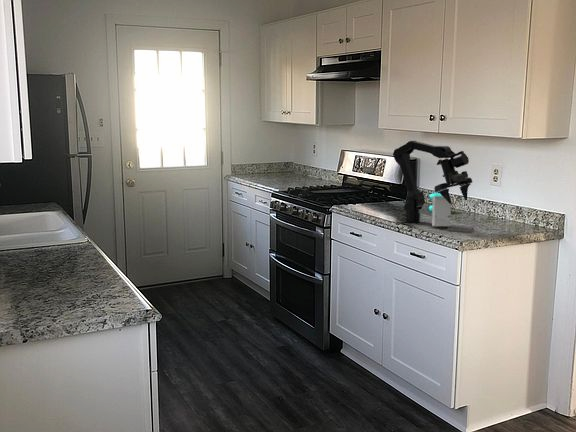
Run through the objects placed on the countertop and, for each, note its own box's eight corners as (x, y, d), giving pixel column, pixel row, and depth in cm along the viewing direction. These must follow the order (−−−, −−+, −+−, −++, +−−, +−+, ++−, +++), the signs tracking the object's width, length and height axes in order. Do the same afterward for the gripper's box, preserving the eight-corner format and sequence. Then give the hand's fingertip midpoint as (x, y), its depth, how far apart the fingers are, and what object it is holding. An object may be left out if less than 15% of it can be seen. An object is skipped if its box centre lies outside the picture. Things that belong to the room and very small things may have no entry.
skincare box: (434, 226, 293) (434, 195, 294) (431, 226, 299) (431, 196, 300) (451, 226, 293) (451, 195, 293) (448, 226, 299) (448, 196, 299)
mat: (447, 230, 288) (447, 229, 288) (450, 225, 301) (450, 224, 301) (470, 232, 284) (470, 231, 284) (473, 227, 297) (473, 226, 297)
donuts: (427, 192, 347) (445, 192, 347) (426, 209, 349) (444, 210, 349) (432, 195, 337) (449, 195, 337) (431, 212, 339) (448, 212, 339)
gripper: (442, 170, 282) (451, 201, 280) (474, 163, 288) (484, 194, 286) (429, 176, 292) (438, 206, 290) (461, 169, 298) (470, 199, 297)
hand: (458, 201), depth 291 cm, fingers open, 9 cm apart
